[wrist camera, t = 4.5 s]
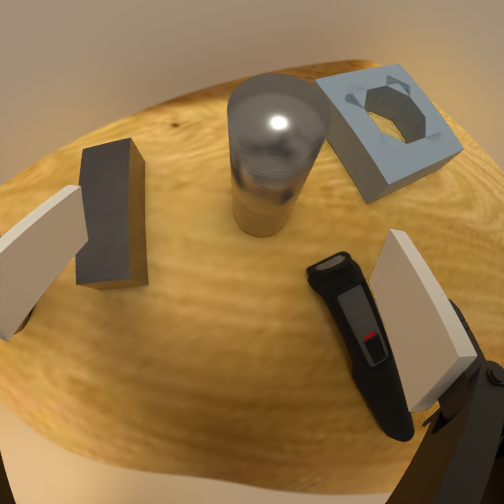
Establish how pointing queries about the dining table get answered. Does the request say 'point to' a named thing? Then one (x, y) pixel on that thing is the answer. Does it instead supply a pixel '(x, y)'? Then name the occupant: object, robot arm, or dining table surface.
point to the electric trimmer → (364, 341)
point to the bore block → (378, 143)
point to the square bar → (113, 217)
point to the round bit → (273, 147)
